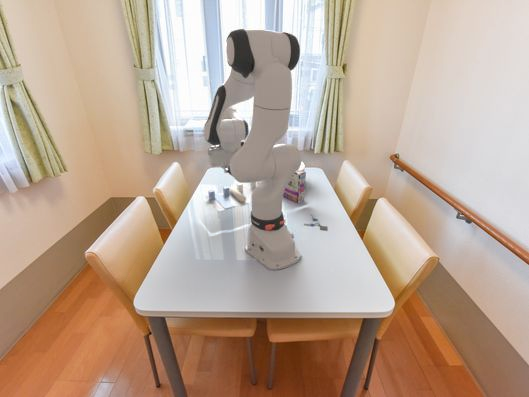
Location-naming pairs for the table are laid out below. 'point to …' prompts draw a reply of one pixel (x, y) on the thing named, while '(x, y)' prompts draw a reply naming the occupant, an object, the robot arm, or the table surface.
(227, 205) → the rod display rack
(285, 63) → the robot arm
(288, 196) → the candy bar box
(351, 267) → the table surface
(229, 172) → the dark gray rod
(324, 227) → the key chain
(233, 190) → the rod
